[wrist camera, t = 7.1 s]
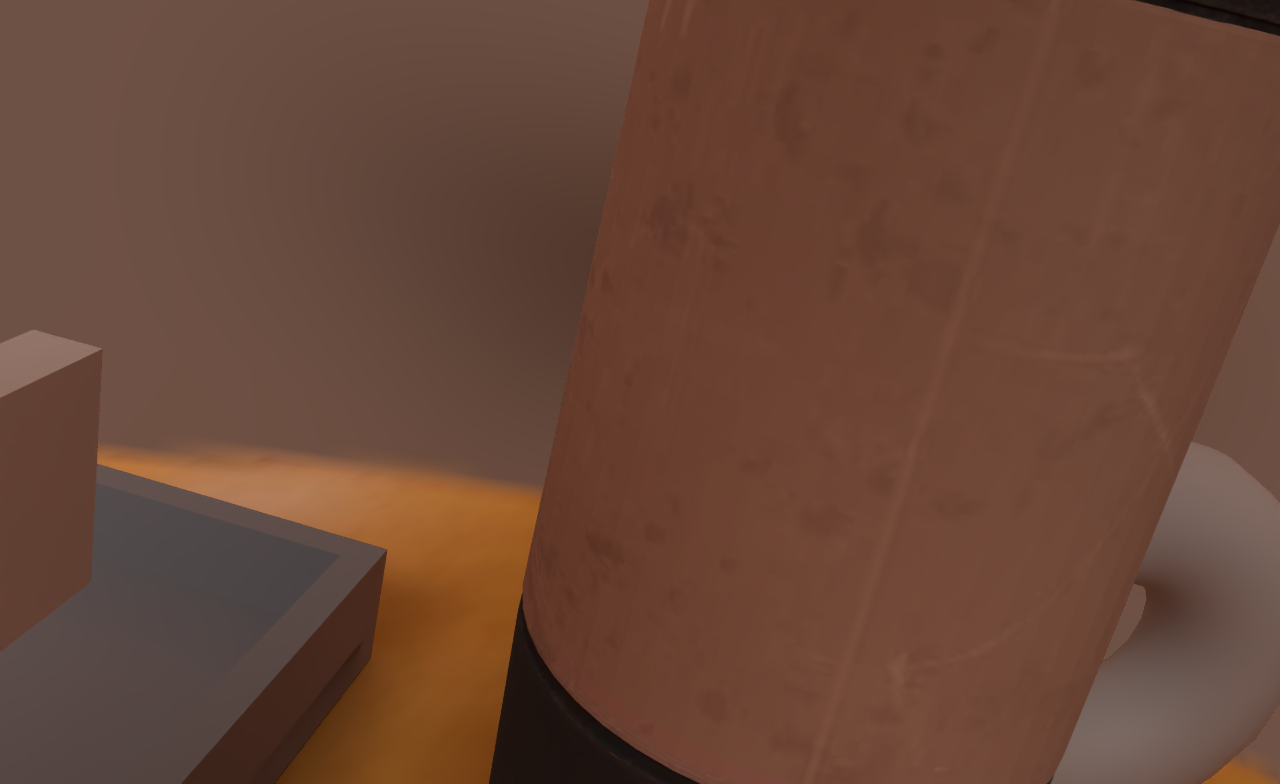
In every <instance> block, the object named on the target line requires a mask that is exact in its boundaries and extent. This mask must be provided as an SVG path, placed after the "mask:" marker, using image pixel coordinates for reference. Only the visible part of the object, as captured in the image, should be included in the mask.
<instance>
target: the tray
mask: <svg viewBox="0 0 1280 784" xmlns="http://www.w3.org/2000/svg"><path fill="white" fill-rule="evenodd" d="M386 555H387V549H383V548H380V547H377V546H373V545H370V544H367V543H363V542H360V541H356V540H353V539H350V538H346V537H343V536H339V535H336V534H333V533H329V532H326V531H323V530H319V529H316V528H312V527H309V526H306V525H302V524H299V523H295V522H292V521H289V520H285V519H282V518H279V517H275V516H272V515H268V514H265V513H262V512H258V511H255V510H251V509H248V508H245V507H241V506H238V505H235V504H231V503H228V502H224V501H221V500H218V499H214V498H211V497H207V496H204V495H201V494H197V493H194V492H191V491H187V490H184V489H180V488H177V487H174V486H170V485H167V484H163V483H160V482H157V481H153V480H150V479H146V478H143V477H140V476H136V475H133V474H130V473H126V472H123V471H119V470H116V469H113V468H109V467H106V466H102V465H99V464H97V471H96V491H95V511H94V531H93V551H92V571H91V582H90V583H89V584H88V585H86V586H85V587H84V588H83V589H81V590H80V591H79V592H77V593H76V594H75V595H74V596H72V597H71V598H70V599H68V600H67V601H66V602H64V603H63V604H62V605H61V606H59V607H58V608H57V609H55V610H54V611H53V612H52V613H50V614H49V615H48V616H46V617H45V618H44V619H43V620H41V621H40V622H39V623H37V624H36V625H35V626H33V627H32V628H31V629H30V630H28V631H27V632H26V633H24V634H23V635H22V636H21V637H19V638H18V639H17V640H15V641H14V642H13V643H11V644H10V645H9V646H8V647H6V648H5V649H4V650H2V651H1V652H0V784H274V783H275V782H276V781H277V779H278V778H279V777H280V776H281V774H282V773H283V772H284V770H285V769H286V768H287V766H288V765H289V764H290V762H291V761H292V760H293V759H294V757H295V756H296V755H297V753H298V752H299V751H300V749H301V748H302V747H303V745H304V744H305V743H306V742H307V740H308V739H309V738H310V736H311V735H312V734H313V732H314V731H315V730H316V728H317V727H318V726H319V725H320V723H321V722H322V721H323V719H324V718H325V717H326V715H327V714H328V713H329V711H330V710H331V709H332V707H333V706H334V705H335V704H336V702H337V701H338V700H339V698H340V697H341V696H342V694H343V693H344V692H345V690H346V689H347V688H348V687H349V685H350V684H351V683H352V681H353V680H354V679H355V677H356V676H357V675H358V673H359V672H360V671H361V670H362V668H363V667H364V666H365V664H366V663H367V662H368V660H369V659H370V658H371V652H372V645H373V639H374V632H375V626H376V620H377V613H378V607H379V600H380V594H381V587H382V581H383V574H384V568H385V562H386Z"/></svg>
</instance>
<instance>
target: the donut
mask: <svg viewBox="0 0 1280 784" xmlns="http://www.w3.org/2000/svg"><path fill="white" fill-rule="evenodd" d="M1134 584H1137V585H1140V586H1143V587H1144V588H1145V590H1146V603H1145V607H1144V611H1143V614H1142V618H1141V620H1140V622H1139V623H1138V625H1137V627H1136V628H1135V630H1134V632H1133V633H1132V635H1131V636H1130V638H1129V639H1128V641H1127V642H1126V643H1124V644H1123V645H1122V646H1121V647H1120V648H1119V649H1118V650H1117V651H1116V652H1115V653H1114V654H1113V655H1112V656H1110V657H1109V658H1108V659H1106V660H1104V661H1102V662H1101V665H1100V667H1099V670H1098V672H1097V675H1096V677H1095V680H1094V682H1093V685H1092V687H1091V689H1090V692H1089V694H1088V697H1087V699H1086V702H1085V704H1084V707H1083V709H1082V712H1081V714H1080V716H1079V719H1078V721H1077V724H1076V726H1075V729H1074V731H1073V734H1072V736H1071V739H1070V741H1069V744H1068V746H1067V748H1066V751H1065V753H1064V756H1063V758H1062V760H1061V762H1060V764H1059V766H1058V768H1057V770H1056V772H1055V774H1054V777H1053V780H1052V782H1051V784H1201V783H1203V782H1204V781H1206V780H1208V779H1210V778H1211V777H1212V776H1213V775H1215V774H1216V773H1217V772H1218V771H1219V770H1220V769H1221V768H1223V767H1224V766H1225V765H1226V764H1227V763H1228V762H1229V761H1231V760H1232V759H1233V758H1234V757H1235V756H1236V755H1237V754H1239V753H1240V752H1241V751H1242V750H1243V749H1244V748H1246V747H1247V746H1248V745H1249V744H1250V743H1251V742H1252V741H1254V740H1255V738H1256V737H1257V736H1258V734H1259V733H1260V731H1261V730H1262V728H1263V727H1264V726H1265V724H1266V723H1267V721H1268V720H1269V719H1270V717H1271V715H1272V714H1273V713H1274V711H1275V710H1276V708H1277V707H1278V706H1279V704H1280V503H1279V502H1278V501H1277V500H1276V498H1275V497H1274V496H1273V494H1271V493H1270V492H1269V491H1268V490H1267V489H1266V488H1265V487H1264V486H1262V485H1261V484H1260V483H1259V482H1258V481H1257V480H1256V479H1254V478H1253V477H1252V476H1251V475H1249V473H1248V472H1246V471H1245V470H1244V469H1243V468H1242V467H1240V466H1239V465H1238V464H1237V463H1236V462H1235V461H1234V460H1233V459H1231V458H1230V457H1229V456H1228V455H1225V454H1223V453H1221V452H1219V451H1217V450H1215V449H1213V448H1210V447H1207V446H1204V445H1202V444H1199V443H1196V442H1193V441H1191V443H1190V446H1189V448H1188V451H1187V453H1186V456H1185V458H1184V461H1183V463H1182V465H1181V468H1180V470H1179V473H1178V475H1177V478H1176V480H1175V483H1174V485H1173V488H1172V490H1171V493H1170V495H1169V497H1168V500H1167V502H1166V505H1165V507H1164V510H1163V512H1162V515H1161V517H1160V520H1159V522H1158V525H1157V527H1156V529H1155V532H1154V534H1153V537H1152V539H1151V542H1150V544H1149V547H1148V549H1147V552H1146V554H1145V557H1144V559H1143V561H1142V564H1141V566H1140V569H1139V571H1138V574H1137V576H1136V579H1135V581H1134Z"/></svg>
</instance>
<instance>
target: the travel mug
mask: <svg viewBox="0 0 1280 784" xmlns="http://www.w3.org/2000/svg"><path fill="white" fill-rule="evenodd" d="M1279 224H1280V0H649V4H648V8H647V13H646V17H645V22H644V26H643V31H642V36H641V40H640V45H639V50H638V54H637V59H636V63H635V69H634V73H633V77H632V82H631V87H630V92H629V96H628V101H627V105H626V110H625V115H624V119H623V124H622V128H621V133H620V137H619V142H618V147H617V152H616V156H615V161H614V165H613V170H612V175H611V179H610V184H609V188H608V193H607V198H606V202H605V207H604V211H603V216H602V221H601V225H600V230H599V235H598V239H597V244H596V248H595V253H594V258H593V262H592V267H591V271H590V276H589V281H588V285H587V290H586V295H585V300H584V305H583V309H582V313H581V318H580V322H579V327H578V332H577V336H576V341H575V346H574V350H573V355H572V359H571V364H570V369H569V373H568V378H567V383H566V387H565V392H564V396H563V401H562V406H561V410H560V415H559V419H558V424H557V429H556V434H555V438H554V443H553V447H552V452H551V456H550V461H549V466H548V470H547V475H546V479H545V484H544V489H543V493H542V498H541V503H540V507H539V512H538V516H537V521H536V526H535V530H534V535H533V540H532V544H531V549H530V553H529V558H528V563H527V567H526V572H525V577H524V581H523V592H522V596H521V600H520V604H519V609H518V614H517V620H516V626H515V632H514V638H513V644H512V650H511V656H510V662H509V668H508V674H507V680H506V686H505V692H504V698H503V704H502V710H501V716H500V721H499V727H498V733H497V739H496V745H495V751H494V757H493V763H492V769H491V775H490V781H489V784H1051V782H1052V780H1053V777H1054V774H1055V772H1056V770H1057V768H1058V766H1059V764H1060V762H1061V760H1062V758H1063V756H1064V753H1065V751H1066V748H1067V746H1068V744H1069V741H1070V739H1071V736H1072V734H1073V731H1074V729H1075V726H1076V724H1077V721H1078V719H1079V716H1080V714H1081V712H1082V709H1083V707H1084V704H1085V702H1086V699H1087V697H1088V694H1089V692H1090V689H1091V687H1092V685H1093V682H1094V680H1095V677H1096V675H1097V672H1098V670H1099V667H1100V665H1101V662H1102V660H1103V657H1104V655H1105V652H1106V650H1107V648H1108V645H1109V642H1110V640H1111V637H1112V635H1113V633H1114V630H1115V628H1116V625H1117V623H1118V620H1119V618H1120V616H1121V613H1122V611H1123V608H1124V606H1125V603H1126V601H1127V598H1128V596H1129V593H1130V591H1131V589H1132V586H1133V584H1134V581H1135V579H1136V576H1137V574H1138V571H1139V569H1140V566H1141V564H1142V561H1143V559H1144V557H1145V554H1146V552H1147V549H1148V547H1149V544H1150V542H1151V539H1152V537H1153V534H1154V532H1155V529H1156V527H1157V525H1158V522H1159V520H1160V517H1161V515H1162V512H1163V510H1164V507H1165V505H1166V502H1167V500H1168V497H1169V495H1170V493H1171V490H1172V488H1173V485H1174V483H1175V480H1176V478H1177V475H1178V473H1179V470H1180V468H1181V465H1182V463H1183V461H1184V458H1185V456H1186V453H1187V451H1188V448H1189V446H1190V443H1191V441H1192V438H1193V436H1194V433H1195V431H1196V429H1197V426H1198V424H1199V421H1200V419H1201V416H1202V414H1203V411H1204V409H1205V406H1206V404H1207V402H1208V399H1209V397H1210V394H1211V392H1212V389H1213V387H1214V384H1215V382H1216V379H1217V377H1218V374H1219V372H1220V370H1221V367H1222V365H1223V362H1224V360H1225V357H1226V355H1227V352H1228V349H1229V347H1230V345H1231V342H1232V340H1233V337H1234V335H1235V333H1236V330H1237V328H1238V325H1239V323H1240V320H1241V317H1242V315H1243V313H1244V310H1245V308H1246V306H1247V303H1248V300H1249V298H1250V296H1251V293H1252V291H1253V288H1254V286H1255V283H1256V281H1257V278H1258V276H1259V274H1260V271H1261V269H1262V266H1263V264H1264V261H1265V259H1266V256H1267V254H1268V251H1269V249H1270V246H1271V244H1272V241H1273V239H1274V237H1275V234H1276V232H1277V229H1278V227H1279Z"/></svg>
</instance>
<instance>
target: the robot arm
mask: <svg viewBox="0 0 1280 784" xmlns="http://www.w3.org/2000/svg"><path fill="white" fill-rule="evenodd" d="M102 351H103V350H102V348H98V347H94V346H91V345H87V344H83V343H80V342H76V341H72V340H69V339H65V338H61V337H58V336H54V335H51V334H47V333H43V332H39V331H36V330H32V331H29V332H27V333H24V334H22V335H20V336H17V337H15V338H12V339H10V340H7V341H5V342H3V343H0V652H1V651H2V650H4V649H5V648H6V647H8V646H9V645H10V644H11V643H13V642H14V641H15V640H17V639H18V638H19V637H21V636H22V635H23V634H24V633H26V632H27V631H28V630H30V629H31V628H32V627H33V626H35V625H36V624H37V623H39V622H40V621H41V620H43V619H44V618H45V617H46V616H48V615H49V614H50V613H52V612H53V611H54V610H55V609H57V608H58V607H59V606H61V605H62V604H63V603H64V602H66V601H67V600H68V599H70V598H71V597H72V596H74V595H75V594H76V593H77V592H79V591H80V590H81V589H83V588H84V587H85V586H86V585H88V584H89V583H90V582H91V571H92V551H93V531H94V511H95V491H96V471H97V451H98V430H99V411H100V410H99V409H100V392H101V391H100V390H101V369H102Z"/></svg>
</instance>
